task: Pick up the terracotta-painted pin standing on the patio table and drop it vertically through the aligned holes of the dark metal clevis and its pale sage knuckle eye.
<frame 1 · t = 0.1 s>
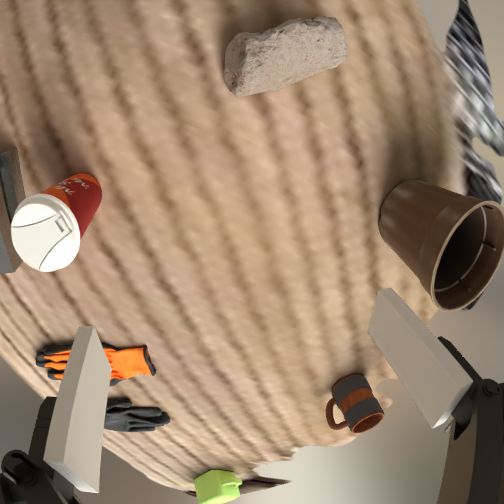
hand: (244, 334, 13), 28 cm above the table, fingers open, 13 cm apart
mug: (340, 387, 64), on the table
pumice stone: (280, 60, 33), on the table
paper cup: (82, 193, 35), on the table
plant pot: (407, 214, 46), on the table
gearbox: (214, 476, 77), on the table
pair of gloves: (104, 388, 52), on the table
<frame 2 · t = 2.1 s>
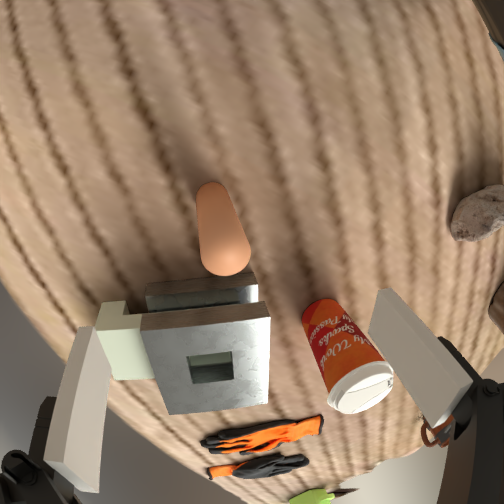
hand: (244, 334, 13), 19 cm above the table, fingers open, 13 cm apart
clevis: (205, 319, 37), on the table
mug: (429, 413, 69), on the table
pin: (212, 198, 30), on the table
pumice stone: (476, 204, 38), on the table
paper cup: (320, 314, 40), on the table
gearbox: (306, 494, 83), on the table
pair of gloves: (260, 449, 57), on the table
knuckle eye: (205, 319, 37), on the table
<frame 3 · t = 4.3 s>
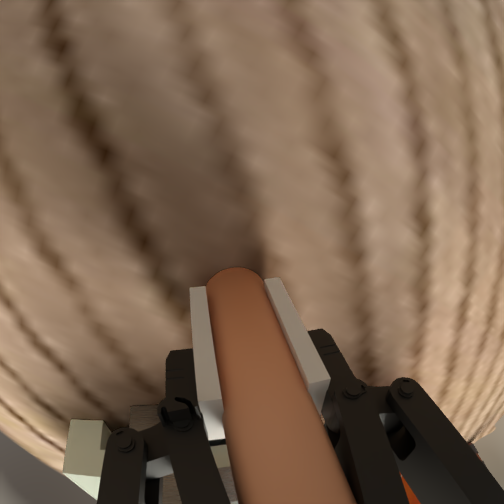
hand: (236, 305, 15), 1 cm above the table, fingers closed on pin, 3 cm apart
clevis: (220, 438, 23), on the table
pin: (234, 294, 16), on the table, touching gripper
knuckle eye: (220, 438, 23), on the table
when the fingers open (10 cm above the table, at t = 9.7 s): pin drops 6 cm, on the table.
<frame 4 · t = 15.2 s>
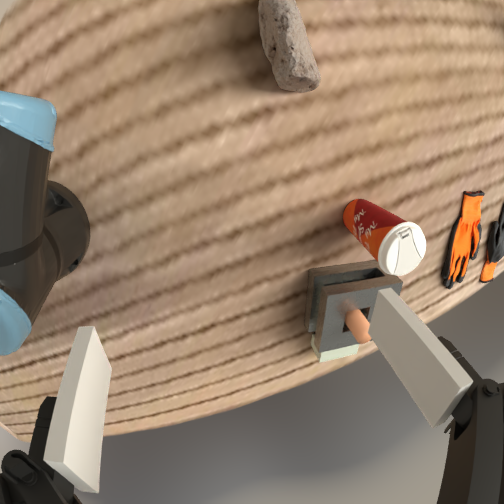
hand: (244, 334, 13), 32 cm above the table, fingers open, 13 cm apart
clevis: (337, 293, 55), on the table
pin: (336, 293, 55), on the table
pumice stone: (282, 42, 35), on the table
paper cup: (357, 214, 49), on the table
pair of gloves: (480, 238, 59), on the table
knuckle eye: (337, 293, 55), on the table
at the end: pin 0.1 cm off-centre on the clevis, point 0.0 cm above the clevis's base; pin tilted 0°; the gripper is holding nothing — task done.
